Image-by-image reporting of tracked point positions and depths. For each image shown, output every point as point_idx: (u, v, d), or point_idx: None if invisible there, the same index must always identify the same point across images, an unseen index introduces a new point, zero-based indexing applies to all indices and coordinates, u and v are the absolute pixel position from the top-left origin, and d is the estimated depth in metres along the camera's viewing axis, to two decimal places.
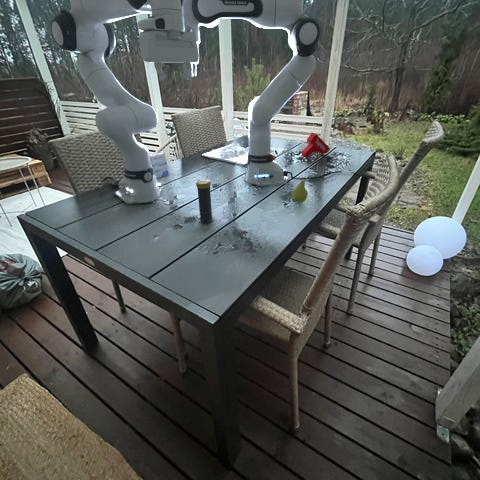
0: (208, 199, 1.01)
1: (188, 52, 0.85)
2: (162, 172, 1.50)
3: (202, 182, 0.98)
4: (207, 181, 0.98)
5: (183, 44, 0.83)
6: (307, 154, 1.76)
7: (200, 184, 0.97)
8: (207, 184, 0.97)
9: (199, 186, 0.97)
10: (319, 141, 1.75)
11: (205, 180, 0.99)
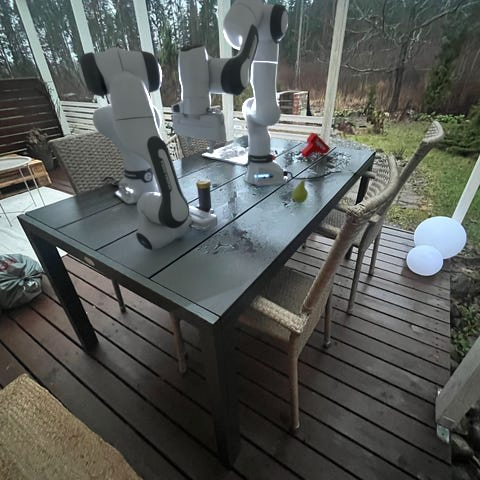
0: (208, 199, 1.01)
1: None
2: None
3: (202, 182, 0.98)
4: (207, 181, 0.98)
5: None
6: (307, 154, 1.76)
7: (200, 184, 0.97)
8: (207, 184, 0.97)
9: (199, 186, 0.97)
10: (319, 141, 1.75)
11: (205, 180, 0.99)
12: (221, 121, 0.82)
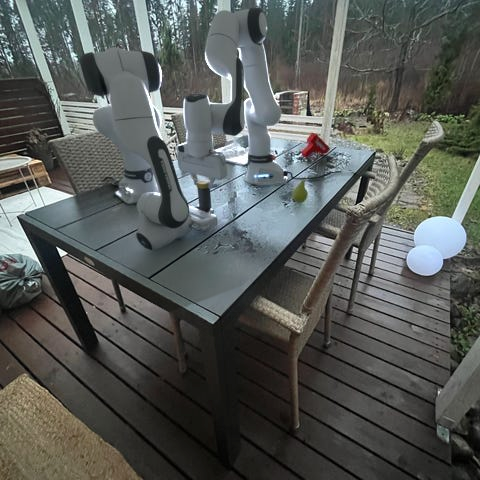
0: (208, 199, 1.01)
1: None
2: None
3: (202, 182, 0.98)
4: (207, 181, 0.98)
5: None
6: (307, 154, 1.76)
7: (200, 184, 0.97)
8: None
9: (199, 186, 0.97)
10: (319, 141, 1.75)
11: (205, 180, 0.99)
12: (223, 162, 0.89)
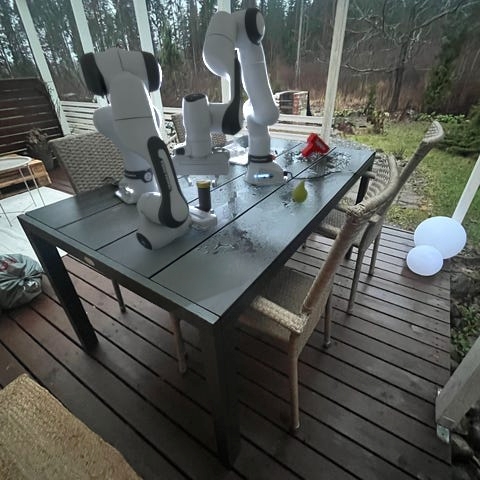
0: (208, 199, 1.01)
1: None
2: None
3: (205, 181, 0.98)
4: (206, 179, 0.99)
5: None
6: (307, 154, 1.76)
7: (206, 183, 0.97)
8: (210, 182, 0.99)
9: (205, 186, 0.97)
10: (319, 141, 1.75)
11: (203, 180, 0.99)
12: (228, 157, 0.94)
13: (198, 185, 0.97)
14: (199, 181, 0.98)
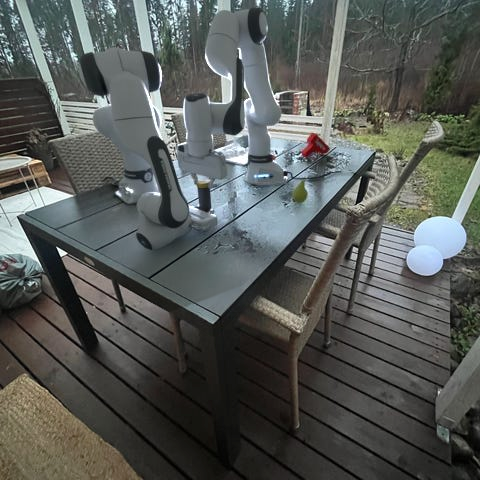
0: (208, 199, 1.01)
1: None
2: None
3: (205, 181, 0.98)
4: (206, 179, 0.99)
5: None
6: (307, 154, 1.76)
7: (206, 183, 0.97)
8: None
9: (205, 186, 0.97)
10: (319, 141, 1.75)
11: (203, 180, 0.99)
12: (223, 162, 0.89)
13: (198, 185, 0.97)
14: (199, 181, 0.98)
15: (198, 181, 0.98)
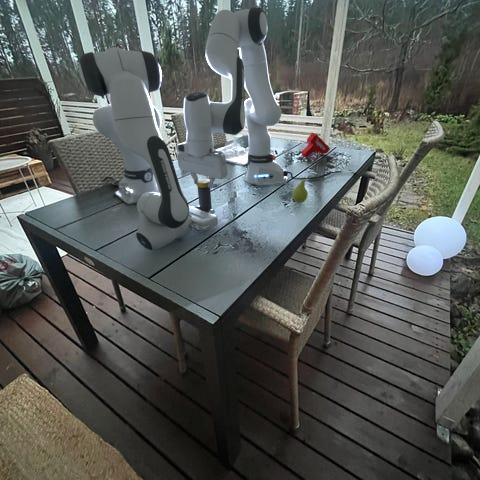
0: (208, 199, 1.01)
1: None
2: None
3: (206, 180, 0.99)
4: (203, 179, 1.00)
5: None
6: (307, 154, 1.76)
7: (209, 181, 0.98)
8: None
9: None
10: (319, 141, 1.75)
11: (201, 180, 0.99)
12: (223, 161, 0.89)
13: (204, 185, 0.97)
14: (201, 181, 0.97)
15: (201, 182, 0.97)
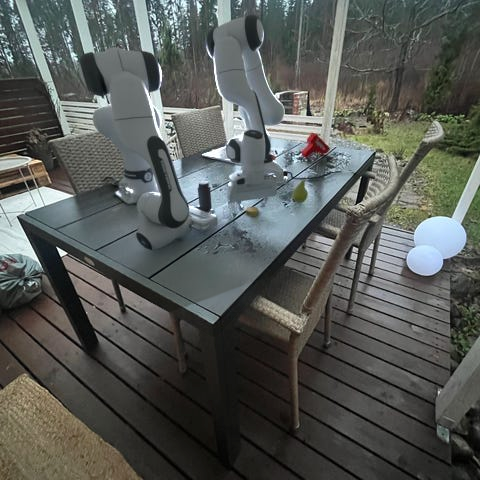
0: (208, 199, 1.01)
1: None
2: None
3: (253, 208, 1.13)
4: (248, 208, 1.13)
5: None
6: (307, 154, 1.76)
7: None
8: None
9: None
10: (319, 141, 1.75)
11: (250, 209, 1.12)
12: (276, 181, 1.08)
13: (257, 212, 1.12)
14: (254, 210, 1.11)
15: (254, 210, 1.11)
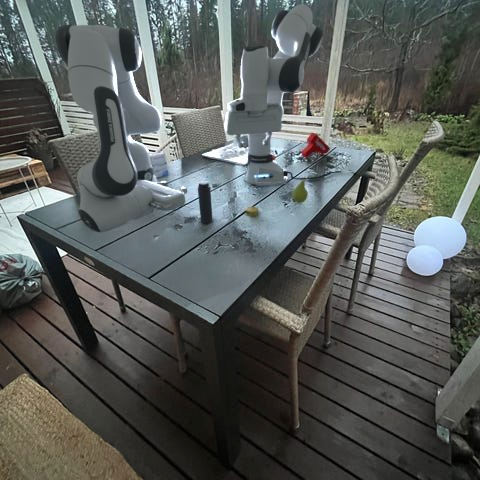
0: (208, 199, 1.01)
1: None
2: (162, 172, 1.50)
3: (253, 208, 1.13)
4: (248, 208, 1.13)
5: None
6: (307, 154, 1.76)
7: None
8: None
9: None
10: (319, 141, 1.75)
11: (250, 209, 1.12)
12: None
13: (257, 212, 1.12)
14: (254, 210, 1.11)
15: (254, 210, 1.11)
